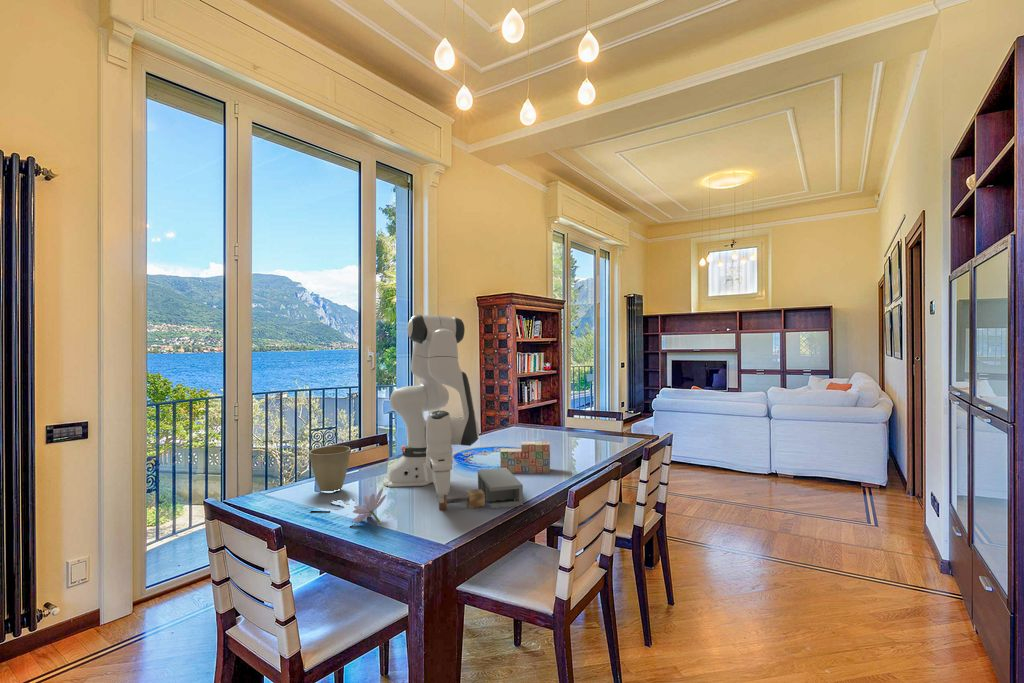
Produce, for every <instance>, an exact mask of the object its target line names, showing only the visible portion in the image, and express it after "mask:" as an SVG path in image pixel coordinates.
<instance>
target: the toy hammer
mask: <svg viewBox="0 0 1024 683" xmlns="http://www.w3.org/2000/svg"><path fill="white" fill-rule="evenodd" d="M447 496H448V494H446V495H444V502H443V503H439V502H438V510H439V511H441V510H444V511H447V510H446V509H448V507H447V506H448V505H449V504H457V503H463V502H464V503H465V502H466V505H467V506H468V505H469V506H470V507H469V506H468V507H469V508H470V509H474V508H473V507H476V508H480V507H479V506H484V507H486V505H485V504H486V503H485V502H486V495H485V493H484V492H483V491H482V489H472V490H467V491H466V496H461V497H455V498H454V497H453V498H452V497H451V498H447Z"/></svg>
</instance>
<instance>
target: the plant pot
mask: <svg viewBox="0 0 1024 683" xmlns="http://www.w3.org/2000/svg"><path fill="white" fill-rule="evenodd" d="M350 452H351V447H350V446H346V445H330V446H329V445H328V446H322V447H318V448H314V449H311V450H309V459H310V464H311V468H312V472H313V475H314V478H315V480H316V484H317V486H318V489H319V491H320V490H322V491H334V490H338V489H341V488H342V489H343V485H344V482H345V479H346V476H347V471H348V468H349V462H350V455H351V453H350ZM342 489H341V490H342Z"/></svg>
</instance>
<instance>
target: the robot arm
mask: <svg viewBox="0 0 1024 683" xmlns="http://www.w3.org/2000/svg"><path fill="white" fill-rule="evenodd" d="M406 330H407V336H408V338H409V339H410V340H411V341H412V342H414V345H413V348H412V357H411V363H410V371H411V374H413V375H414V377H416V378H418V379H420V380H419V384H418V385H408V386H402V387H399V388H396V389H394V390H393V391H392V392H391V394H390V397H389V404H390V407H391V409H392V410H393V412H395V413H396V414H398V415H399V416H400V417H401V420H403V422H404V425H405V428H406V438H407V440H406V441H407V443H406V444H407V445H402V446H401V448H400V449H401V450H400V451H401V452H402V456H400V457H399V458H398V459H397V460H396V461H394V462H393V463H392V464H391V465H390V467H389V471H388V475H387V476H385V477H384V478H383V483H384V484H383V485H384V486H386V487H387V486H388V488H392V487H393V488H394V487H395V488H396V487H420V486H421V487H422V486H423V487H424V486H427V485H429V484H431V483H433V485H434V488H435V492H436V498H437V501H438V504H439V503H443V502H444V495H446V494H447V495H449V493H450V488H451V471H452V470H453V455H454V454H453V447H452V446H466V447H467V446H469V447H470V446H472V445H473V444H475V443H476V442H477V441H478V440H479V436H480V428H479V424H478V421H477V418H476V413H475V409H474V401H473V397H472V391H471V386H470V381H469V377H468V375H467V373H466V372H464V371H462V369H461V367H460V365H459V349H458V344H459V343H460V342H462V341H463V339H464V336H465V323H464V321H463V320H462V319H460V318H459V317H456V316H455V317H454V316H453V317H451V316H447V315H441V314H440V315H438V314H437V315H434V314H433V315H432V314H428V315H426V314H423V315H422V314H416V315H412V316H411V317H410V318H409V320H408V323H407V328H406ZM444 385H445V386H444ZM446 386H448V387H451V388H453V389H454V390H456V391H457V392H458V394H459V397H460V401H461V407H462V413H463V416H460V417H459V416H458V417H451V415H450V413H449V412H448V411H446V410H440V409H442V408H445V407H446V406H447V404H448V403H449V399H450V394H449V391H448V389H447V387H446ZM430 411H431V412H430ZM424 412H430V413H428V414H427V418H426V419H425V418H424V416H423V413H424Z"/></svg>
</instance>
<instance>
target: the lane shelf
mask: <svg viewBox="0 0 1024 683" xmlns="http://www.w3.org/2000/svg"><path fill="white" fill-rule="evenodd" d="M523 488H524V486H523V483H521V481H520V480H519V479H518V478H517V477H515V475H514V474H513V473H511V472H510V471H509V470H508V469H507V468H501V467H499V468H498V467H497V468H486V469H485V468H484V469H477V490H479V489H481V490H482V491H483V492H484V493H485V502H486V501H491V503H490V504H489V505H490V506H489V507H490V509H491V508H496V509H500V508H499V507H505V508H512V507H511V506H515V507H519V506H518V505H523V506H524V498H523V497H524V494H523V493H524V492H523ZM505 499H511V500H509V501H506V500H505ZM514 499H515V500H514ZM496 500H501V501H500V502H497V501H496ZM492 502H493V503H492Z"/></svg>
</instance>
